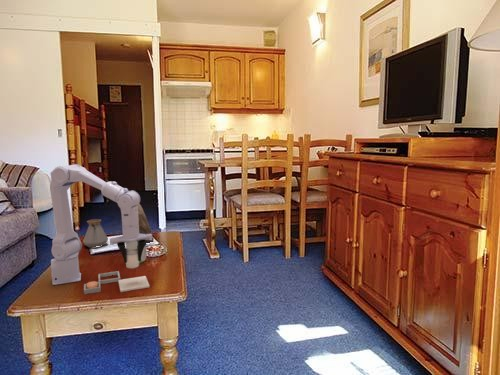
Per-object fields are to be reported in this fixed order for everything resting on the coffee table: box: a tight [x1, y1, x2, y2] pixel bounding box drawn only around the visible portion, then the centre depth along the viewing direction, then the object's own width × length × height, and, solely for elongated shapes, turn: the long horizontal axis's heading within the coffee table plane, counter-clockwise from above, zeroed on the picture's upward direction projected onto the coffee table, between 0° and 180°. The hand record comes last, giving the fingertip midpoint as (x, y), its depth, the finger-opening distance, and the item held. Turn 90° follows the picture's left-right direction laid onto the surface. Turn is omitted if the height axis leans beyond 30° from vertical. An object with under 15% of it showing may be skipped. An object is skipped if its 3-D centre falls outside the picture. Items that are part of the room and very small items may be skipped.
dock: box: [83, 270, 121, 295], centre depth 135 cm, size 12×14×2 cm
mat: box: [117, 275, 150, 293], centre depth 134 cm, size 10×10×1 cm
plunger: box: [86, 280, 99, 289], centre depth 129 cm, size 4×4×2 cm
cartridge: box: [125, 249, 140, 269], centre depth 132 cm, size 4×4×6 cm
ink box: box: [125, 241, 147, 265], centre depth 156 cm, size 9×5×12 cm, turn 168°
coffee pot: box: [82, 218, 109, 249], centre depth 174 cm, size 21×12×15 cm, turn 21°
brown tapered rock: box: [138, 203, 154, 243], centre depth 183 cm, size 13×13×20 cm
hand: (132, 260), depth 133 cm, fingers closed on cartridge, 4 cm apart
